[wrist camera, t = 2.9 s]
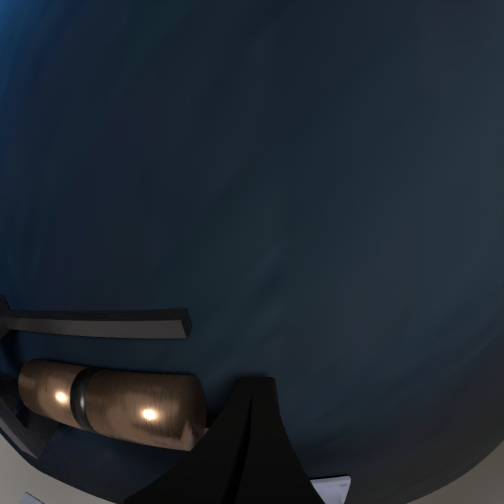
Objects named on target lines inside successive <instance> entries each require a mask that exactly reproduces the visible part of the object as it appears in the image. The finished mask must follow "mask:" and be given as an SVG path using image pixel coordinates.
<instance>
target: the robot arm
mask: <svg viewBox="0 0 504 504" xmlns="http://www.w3.org/2000/svg"><path fill="white" fill-rule="evenodd" d="M350 482H351V479H350V477H349V476H342V477H334V478H326V479H316V480H309V478H308V476H307V475H306V473H305V471H304V470H303V468H302V466H301V464H300V462H299V460H298V459H297V456H296V454H295V452H294V450H293V448H292V446H291V444H290V441H289V439H288V436H287V434H286V431H285V428H284V426H283V423H282V419H281V416H280V413H279V402H278V395H277V389H276V382H275V379H274V378H273V377H264V378H241V379H239V380H238V382H237V384H236V386H235V388H234V390H233V392H232V394H231V396H230V398H229V399H228V401H227V403H226V404H225V406H224V408H223V409H222V411H221V412H220V414H219V415H218V417H217V418H216V420H215V421H214V423H213V424H212V425H211V427H210V428H209V429H208V430H207V432H206V433H205V434H204V436H203V437H202V438H201V439H200V440H199V442H198V443H197V444H196V445H195V446H194V447H193V448H192V449H191V450H190V451H189V453H188V454H187V455H186V456H184V457H183V458H182V459H181V460H180V461H179V462H178V463H177V464H176V465H175V466H174V467H172V468H171V469H170V470H169V471H168V472H166V473H165V474H164V475H162V476H161V477H160V478H158V479H157V480H155V481H154V482H153V483H151V484H150V485H148V486H147V487H145V488H143V489H142V490H140V491H138V492H136V493H135V494H133V495H131V496H129V497H127V498H126V499H124V502H123V503H122V504H344V501H345V498H346V495H347V492H348V489H349V486H350ZM19 504H44V503H43V502H41V501H40V500H38V499H37V498H35V497H33V496H32V495H31V494H29V493H27V492H25V494H24V496H23V498H22V499H21V501H20V503H19Z"/></svg>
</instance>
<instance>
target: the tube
mask: <svg viewBox="0 0 504 504" xmlns="http://www.w3.org/2000/svg"><path fill="white" fill-rule="evenodd" d="M18 387H19V393H20V396H21V399H22V401H23V403H24V404H25V405H26V407H27V408H28V409H30V410H31V411H33V412H35V413H37V414H40V415H42V416H45V417H47V418H50V419H53V420H56V421H58V422H61V423H64V424H67V425H70V426H73V427H76V428H80V429H83V430H86V431H90V432H93V433H97V434H101V435H104V436H108V437H112V438H116V439H121V440H125V441H130V442H135V443H140V444H145V445H151V446H157V447H163V448H170V449H177V450H185V451H190V450H191V449H192V448H193V447H194V446H195V445H196V444H197V443H198V442H199V440H200V439H201V438H202V437H203V436H204V431H205V425H206V402H205V396H204V391H203V388H202V385H201V383H200V381H199V380H198V378H197V377H195V376H194V375H174V374H154V373H140V372H128V371H117V370H108V369H100V368H92V367H85V366H78V365H71V364H65V363H59V362H54V361H48V360H43V359H32V360H30V361H28V362H27V363H26V364H25V365H24V366H23V368H22V369H21V372H20V375H19V380H18Z"/></svg>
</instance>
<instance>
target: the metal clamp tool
mask: <svg viewBox="0 0 504 504" xmlns="http://www.w3.org/2000/svg"><path fill="white" fill-rule="evenodd" d="M191 327H192V324H191V320H190V317H189V314H188V310H187V308H184V309H163V310H135V311H23V310H10V309H9V307H8V304H7V302H6V300H5V297H4V295H0V339H1V338H2V337H4V336H5V335H6V334H7V333H8V332H9V331H10V330H11V329H16V330H24V331H33V332H42V333H53V334H64V335H78V336H94V337H117V338H187V336H188V334H189V331H190V329H191ZM20 400H21V396H20V393H19V387H18V386H17V384H16V383H15V381H14V380H13V378H12V377H10V376H7V375H4V374H0V427H1V428H2V429H3V430H4V431H5V432H6V434H7V435H8V436H9V437H10V438H11V439H12V440H13V441H14V442H15V444H16V445H17V446H18V447H19V448H20V449H21V450H23V451H24V452H26V453H28V454H30V455H32V456H33V457H35V458H37V459H38V458H39V457H40V455H41V453H42V452H43V450H44V448H45V447H46V445H47V444H48V442H49V440H50V439H51V437H52V436H53V434H54V433H55V431H56V429H57V428H58V426H59V425H60V423H61V422H58V421H56V420H53V419H50V418H47V417H45V416H42V415H40V414H37V413H35V412H33V411H31V410H30V409H28V408H27V407H26V405H25V404H24V405H23V407H22V408H21V409H20V411H19V412H18V413H17V415H16V416H15V415H14V414H13V412H12V410H13V409H14V408H15V406H16V405H17V404H18V403H19V401H20ZM216 418H217V417H211V416H206V425H205V431H204V434H205V433H206V432H207V430H208V429H209V428H210V427H211V425H212V424H213V423H214V421H215V420H216Z"/></svg>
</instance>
